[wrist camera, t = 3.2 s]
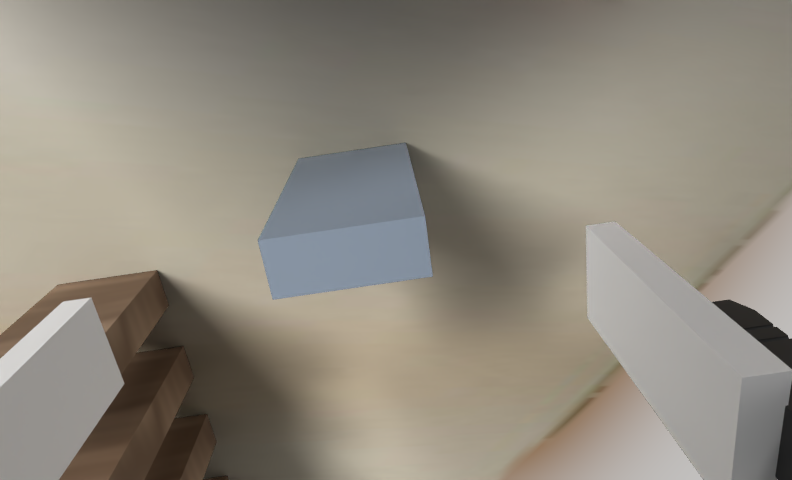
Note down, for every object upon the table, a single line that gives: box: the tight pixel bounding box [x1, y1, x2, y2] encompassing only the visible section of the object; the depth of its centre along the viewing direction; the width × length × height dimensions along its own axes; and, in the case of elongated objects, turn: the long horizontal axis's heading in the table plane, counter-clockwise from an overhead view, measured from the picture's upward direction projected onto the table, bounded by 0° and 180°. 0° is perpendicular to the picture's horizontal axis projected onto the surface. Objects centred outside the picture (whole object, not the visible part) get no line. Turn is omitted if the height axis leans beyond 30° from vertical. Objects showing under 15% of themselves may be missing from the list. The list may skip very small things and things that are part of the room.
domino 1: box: [0, 270, 169, 374], centre depth 23 cm, size 2×5×10 cm, turn 98°
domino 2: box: [59, 346, 194, 480], centre depth 25 cm, size 2×5×10 cm, turn 98°
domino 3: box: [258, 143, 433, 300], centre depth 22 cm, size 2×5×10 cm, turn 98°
